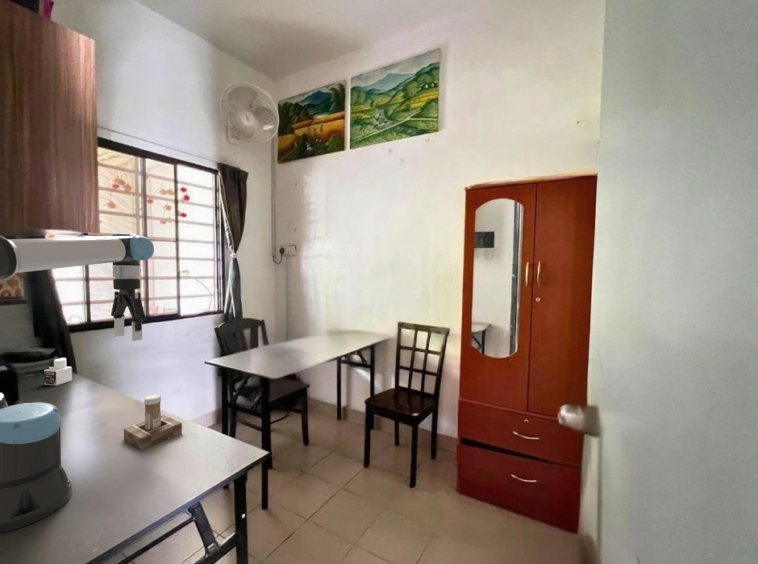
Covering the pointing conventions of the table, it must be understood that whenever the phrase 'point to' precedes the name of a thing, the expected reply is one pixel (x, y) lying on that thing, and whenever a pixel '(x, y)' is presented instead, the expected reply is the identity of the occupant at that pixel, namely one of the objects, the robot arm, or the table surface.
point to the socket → (152, 433)
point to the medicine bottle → (57, 372)
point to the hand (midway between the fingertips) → (128, 338)
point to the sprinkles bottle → (152, 412)
